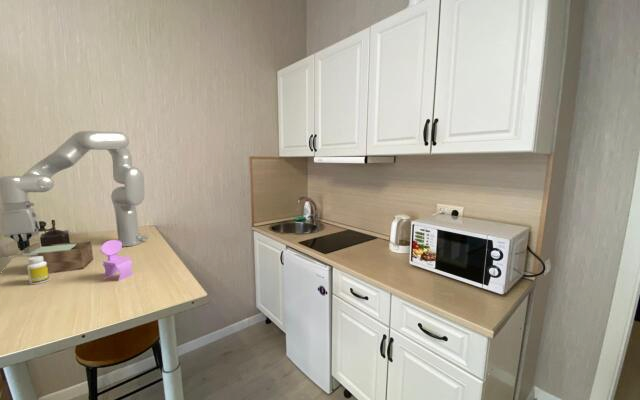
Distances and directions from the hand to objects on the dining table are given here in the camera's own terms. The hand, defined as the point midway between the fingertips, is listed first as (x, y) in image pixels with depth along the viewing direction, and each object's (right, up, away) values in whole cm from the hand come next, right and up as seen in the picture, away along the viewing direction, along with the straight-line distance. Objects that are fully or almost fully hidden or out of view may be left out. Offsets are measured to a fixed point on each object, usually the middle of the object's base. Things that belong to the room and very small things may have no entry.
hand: (24, 249), depth 115 cm
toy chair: (+41, -11, -3) cm, 43 cm away
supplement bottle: (+14, -11, -7) cm, 20 cm away
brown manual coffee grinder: (-8, -6, +23) cm, 25 cm away
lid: (+8, -1, +3) cm, 9 cm away
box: (+12, -9, +7) cm, 17 cm away
